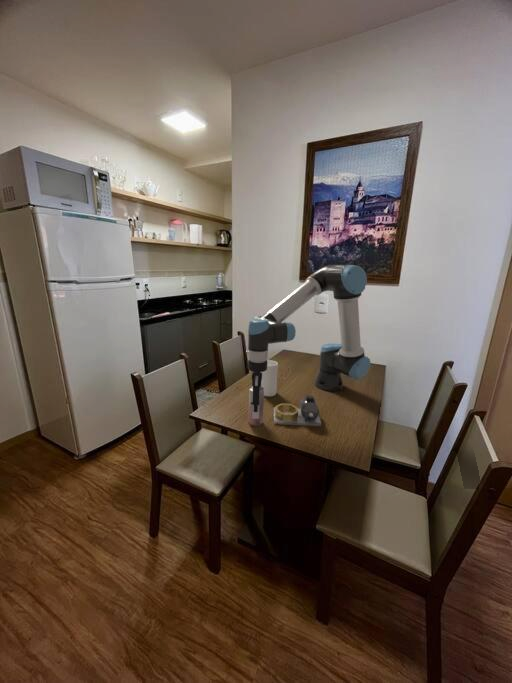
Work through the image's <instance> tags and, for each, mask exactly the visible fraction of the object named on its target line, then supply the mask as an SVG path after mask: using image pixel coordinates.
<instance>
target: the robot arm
mask: <svg viewBox="0 0 512 683" xmlns="http://www.w3.org/2000/svg"><path fill="white" fill-rule="evenodd" d="M367 283H368V277H367V274H366V271H365V270H364V268H362V266H359V265H357V264H356V265H355V264H328V265H325V266H323V267H321V268H319V269H317V270H316V271H315V272H313V273H312V274H311V275H309V276H308V277H306V279H305V281H304V283H302V284H301V285H300V286H298V288H296V289H295V290H293V291H292V292H291V293H289V294H288V295H287V296H286V297H284V298H283V299H282V300H281V301H280V302H278V303H277V304H276V305H274V307H272V308H271V309H269V310H268V311H267V312H266V313H265V314H263V315H257V316H254V317H253V318H252V319H251V320H250V321H249V323H248V329H247V330H248V331H247V332H248V333H247V334H248V337H247V338H248V344H247V346H248V349H247V350H246V354H247V359H248V360H247V370H248V371H250V372H251V381H252V383H251V387H252V386H253V402H251V404H252V419H259V393H260V387H261V380H262V373H261V372H264V371H266V370H267V360H269V358H268V356H269V345H270V344H271V345H272V344H277V343H286V342H292V341H293V340H294V339H295V338H296V332H297V331H296V326H295V325H294V324H293V323H292V322H286V321H285V320H287V319H288V318H289V317H290V316H292V315H293V314H294V313H295V312H296V311H298V310H299V309H300V308H301V307H302V306H305V304H306V303H308V302H309V301H310V300H311V299H312V298H314V297H315V296H319V295H321V294H322V293H324V292H329V291H330V292H333V298H334V300H336V302H337V308H338V310H337V311H338V321H339V332H340V334H339V335H340V342H341V343H326V344H325V343H324V344H322V346H321V348H320V355H319V369H318V372H317V374H316V376H315V379H314V385H315V386H316V387H317V388H319V389H321V390H324V391H329V392H335V391H336V392H337V391H340V390H343V388H344V381H343V379H344V378H343V376H342V375H343V374H344V375H346V376H347V377H349V378H353V379H356V380H359V379H362V378H364V376H366V375H367V373H368V372H369V369H370V368H371V359H370V357H368V356H365V355H366V354H365V349H364V347H362V346H361V330H360V310H359V298H360V297H361V296H362V292H364V291H365V290H366V286H367V285H368V284H367Z"/></svg>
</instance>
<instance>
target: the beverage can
mask: <svg viewBox="0 0 512 683" xmlns="http://www.w3.org/2000/svg"><path fill="white" fill-rule="evenodd" d="M251 402H253V386H252V385H251V386H250V387H249V391H248V415H247V416H248V418H247V419H248V421H247V422H248V423H249V424H250V425H251V426H255V427H258V426H261V425H262V424H263V423H264V406H265V404H264V402H265V396H264V388H263V387H260V393H259V419H252V404H251Z"/></svg>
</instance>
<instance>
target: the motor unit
mask: <svg viewBox="0 0 512 683" xmlns="http://www.w3.org/2000/svg"><path fill="white" fill-rule="evenodd" d="M319 410H320V409H319V407H318V404H317V401H316V400H315V397H314V395H305V396H303V397H301V399H300V400H299V408H298V406H296V405H295V404H292V403H279V404H278V405H275V407H273V424H274V425H289V426H306V427H322V420H321V417H320V411H319Z"/></svg>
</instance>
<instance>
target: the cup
mask: <svg viewBox="0 0 512 683" xmlns="http://www.w3.org/2000/svg"><path fill="white" fill-rule="evenodd" d="M278 364H279V363H278V362H277V360H276V361H275V360H269V359H267V370H266V371H264V372H261V373H262V380H261V387H263V388H264V397H274V396H276V395H277V389H278V388H277V386H278V368H279V365H278Z"/></svg>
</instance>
